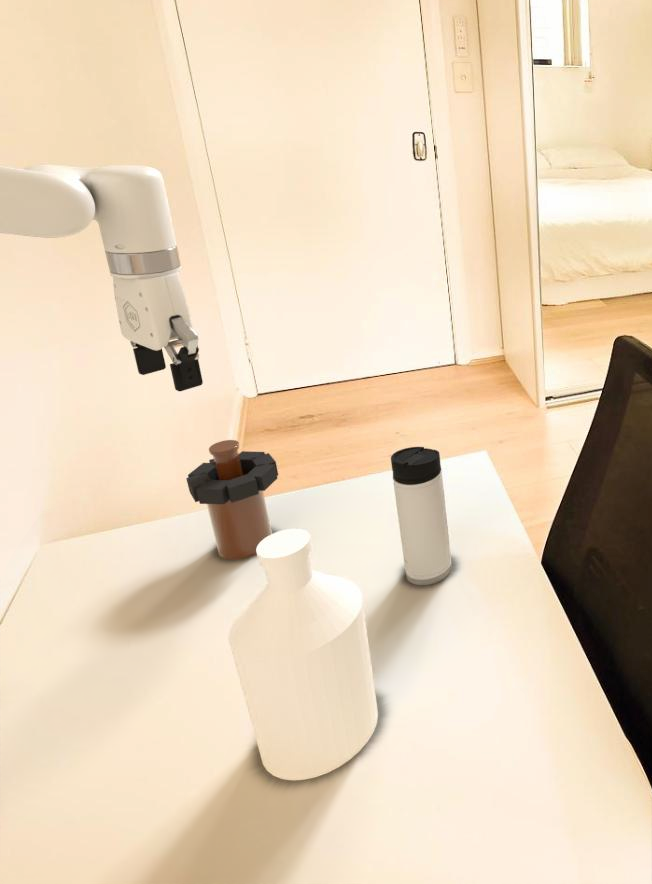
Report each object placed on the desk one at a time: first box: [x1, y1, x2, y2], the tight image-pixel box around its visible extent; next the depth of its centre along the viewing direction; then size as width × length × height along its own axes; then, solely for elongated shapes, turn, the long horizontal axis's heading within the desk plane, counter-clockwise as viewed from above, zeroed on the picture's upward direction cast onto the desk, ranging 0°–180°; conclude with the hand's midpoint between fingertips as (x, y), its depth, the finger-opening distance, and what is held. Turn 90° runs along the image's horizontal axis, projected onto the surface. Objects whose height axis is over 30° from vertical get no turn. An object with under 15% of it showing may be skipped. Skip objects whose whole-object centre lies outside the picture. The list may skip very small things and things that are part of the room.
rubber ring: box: [185, 450, 279, 505], centre depth 100 cm, size 10×10×2 cm
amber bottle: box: [206, 439, 273, 561], centre depth 101 cm, size 7×7×17 cm
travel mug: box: [390, 446, 453, 586], centre depth 97 cm, size 6×7×20 cm
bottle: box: [228, 528, 379, 781], centre depth 71 cm, size 12×12×25 cm
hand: (170, 379), depth 97 cm, fingers open, 9 cm apart
